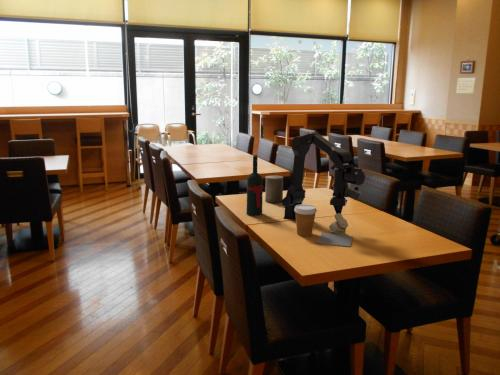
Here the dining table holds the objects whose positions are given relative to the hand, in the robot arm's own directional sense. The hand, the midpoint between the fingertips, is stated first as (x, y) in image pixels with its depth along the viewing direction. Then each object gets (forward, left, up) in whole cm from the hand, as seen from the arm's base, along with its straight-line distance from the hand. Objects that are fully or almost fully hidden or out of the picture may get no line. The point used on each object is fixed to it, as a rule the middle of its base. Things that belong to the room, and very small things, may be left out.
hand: (338, 217), depth 187 cm
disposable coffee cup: (-14, -5, -8) cm, 16 cm away
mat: (0, -8, -8) cm, 11 cm away
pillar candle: (-40, +46, -8) cm, 61 cm away
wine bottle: (-42, +17, -8) cm, 46 cm away
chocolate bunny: (0, +2, -7) cm, 7 cm away
